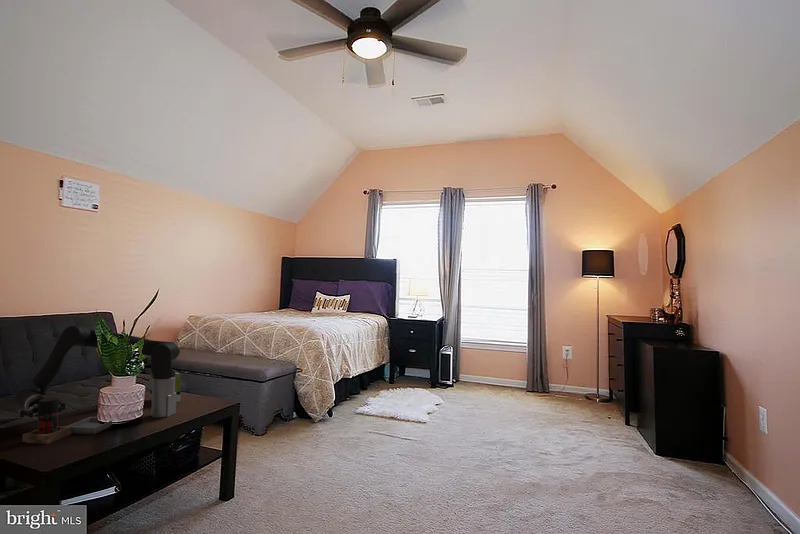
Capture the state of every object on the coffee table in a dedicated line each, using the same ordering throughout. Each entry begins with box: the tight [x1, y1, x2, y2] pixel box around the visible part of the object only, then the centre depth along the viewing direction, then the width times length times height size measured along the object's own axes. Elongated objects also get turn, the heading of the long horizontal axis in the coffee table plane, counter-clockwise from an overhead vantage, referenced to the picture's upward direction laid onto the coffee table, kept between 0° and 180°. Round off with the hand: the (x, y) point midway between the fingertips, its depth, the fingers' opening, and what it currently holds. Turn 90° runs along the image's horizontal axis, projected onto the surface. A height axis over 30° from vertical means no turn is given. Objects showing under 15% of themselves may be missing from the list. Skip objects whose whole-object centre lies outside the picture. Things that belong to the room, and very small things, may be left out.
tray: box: [67, 416, 112, 435], centre depth 176 cm, size 13×13×2 cm
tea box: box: [148, 371, 182, 403], centre depth 218 cm, size 15×10×15 cm, turn 50°
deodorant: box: [37, 396, 60, 434], centre depth 164 cm, size 6×6×15 cm
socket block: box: [21, 425, 72, 445], centre depth 164 cm, size 10×10×3 cm
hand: (46, 412), depth 167 cm, fingers open, 8 cm apart
